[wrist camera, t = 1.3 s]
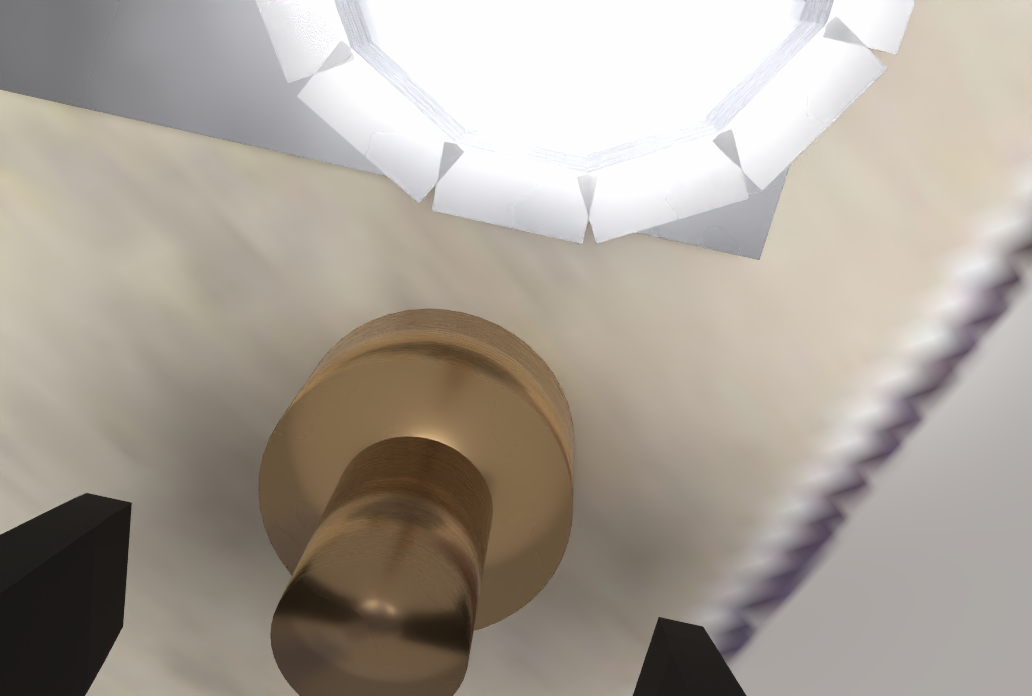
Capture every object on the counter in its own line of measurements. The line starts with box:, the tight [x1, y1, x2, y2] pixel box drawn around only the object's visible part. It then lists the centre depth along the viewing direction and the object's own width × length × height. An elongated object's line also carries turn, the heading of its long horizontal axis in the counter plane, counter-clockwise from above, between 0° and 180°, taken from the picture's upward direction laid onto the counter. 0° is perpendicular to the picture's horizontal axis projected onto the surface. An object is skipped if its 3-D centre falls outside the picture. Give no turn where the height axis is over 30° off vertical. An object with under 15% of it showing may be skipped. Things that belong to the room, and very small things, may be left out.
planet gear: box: [259, 309, 574, 696], centre depth 15 cm, size 5×5×6 cm
